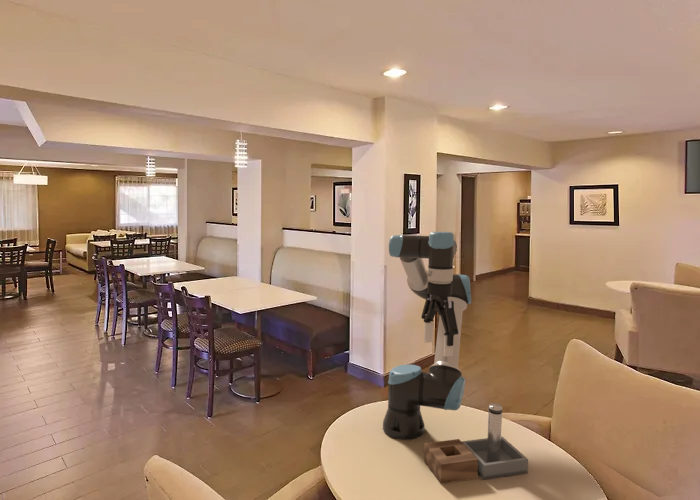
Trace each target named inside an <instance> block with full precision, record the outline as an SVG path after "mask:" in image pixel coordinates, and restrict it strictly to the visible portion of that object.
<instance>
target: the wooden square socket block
mask: <svg viewBox="0 0 700 500" xmlns="http://www.w3.org/2000/svg"><path fill="white" fill-rule="evenodd" d="M461 441H462V440H460V438H457V439H449V440H447V439H446V440H443V441H442V440H440V441H431V442H426V443H425V442H424V446H423V447H424V450H423V451H424V453H423V461H424V463H425V464H426V466H427V468H428V469H429V470H430V472H431V473H432V475H434V477H435V479H436V480H437V481H438V482H439V483H440V485H443V484H450V483H455V482H462V481H470V480H475V479H478V475H479V474H478V459H477V458H476V457H475V456H474V454H473V453H472V452H471V451H470V450H469V449H468V448H467V447H466V446H465V445H464V444H463V443H462V442H461Z"/></svg>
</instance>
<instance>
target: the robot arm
mask: <svg viewBox="0 0 700 500" xmlns="http://www.w3.org/2000/svg"><path fill="white" fill-rule="evenodd" d="M457 250H458V245H457V242H456V240H455V235H454V232H450V231H431V232H430V233H429V235H411V234H410V235H409V234H408V235H407V234H396V235H395V234H394V235H391V237H390V238H389V241H388V253H389V256H390V257H393V258H399V261H400V262H401V264H402V267H403V269H404V272H405V274H406V276H407V277H406V282H407V285H408V287H409V289H410V290H411V292H413V293H414V294H415V295H416V296H418V297H420V298H421V299H424V300H425V303H424V306H423V309H422V313H421V319H422V320H423V323H424V333H423V335H424V338H423V342H424V343H426V344H428V343H433V341H434V321H435V320H434V318H435V317H436V314H438V315H439V318H438V324H437V325H438V326H437V334H436V335H437V336H436V343H435V353H434V362H433V364H432V365H430V366H429V368H428V372H427V371H423V369H422V367H421V366H419V365H416V364H401V365H397V366H395V367H392V369H391V370H390V371H389V374H388V381H387V384H388V391H387V392H388V393H387V402H388V403H387V409H386V412H385V415H384V418H383V421H382V431H383V430H384V431H383V432H384V433H385V434H386V435H387V436H389V437H390V438H394V439H398V440H402V441H403V440H406V441H407V440H408V441H409V440H410V441H411V440H416V439H419V438H421V437H422V436H423V435H424V434H425V423H424V420H423V419H424V418H423V415H422V411H421V407H426V408H427V407H428V408H434V409H441V410H444V411H447V410H448V411H458V410H459V409H460V407H461V406H462V402H463V399H464V395H465V387H466V378H465V377H464V376H463V375H462V374H463V373H462V371H461V369H460V368H459V359H460V347H461V335H462V334H461V333H462V323H463V312H464V311H465V310H467V309H468V305H471V304H472V293H471V291H472V290H471V279H470V277H469V276H468V275H466V274H460V273H457V274H456V273H455V274H454V256H455V255H456V252H458V251H457ZM423 259H428V265H427V266H428V267H427V269H426V266H425V263H424V260H423Z"/></svg>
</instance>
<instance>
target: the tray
mask: <svg viewBox="0 0 700 500" xmlns="http://www.w3.org/2000/svg"><path fill="white" fill-rule="evenodd" d="M487 439H488V437H487V438H479V439H470V440H463V441H462V440H460V441H461V442H462V443H463V444H464V445H465V446H466V447H467V448H468V449H469V450H470V451H471V452H472V453H473V454H474V456H475V457H476V458H477V459H478V475H479V476H480V477H481V479H482V480H491V479H492V480H493V479H497V478H499V479H500V478H505V477H510V476H511V477H512V476H518V475H519V476H520V475H525V474H528V473H529V472H528V470H529V458H527V456H525V455H524V453H522V452H521V451H520V450H518V448H516V447H515V446H514V445H512V443H510V442H509V441H508V440H507V439H506V438H505V437H503V436H502V435H501V447H500V461H497V462H490V463H489V462H488V461H487Z"/></svg>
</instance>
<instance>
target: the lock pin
mask: <svg viewBox="0 0 700 500" xmlns="http://www.w3.org/2000/svg"><path fill="white" fill-rule="evenodd" d="M487 418H488V420H487V438H488V439H487V461H488V462H489V463H490V462H497V461H500V447H501V436H502V427H503V426H502V423H503V422H502V421H503V406H502V404H499V403H497V402H496V403H495V402H491V403H489V404H488V417H487Z"/></svg>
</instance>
